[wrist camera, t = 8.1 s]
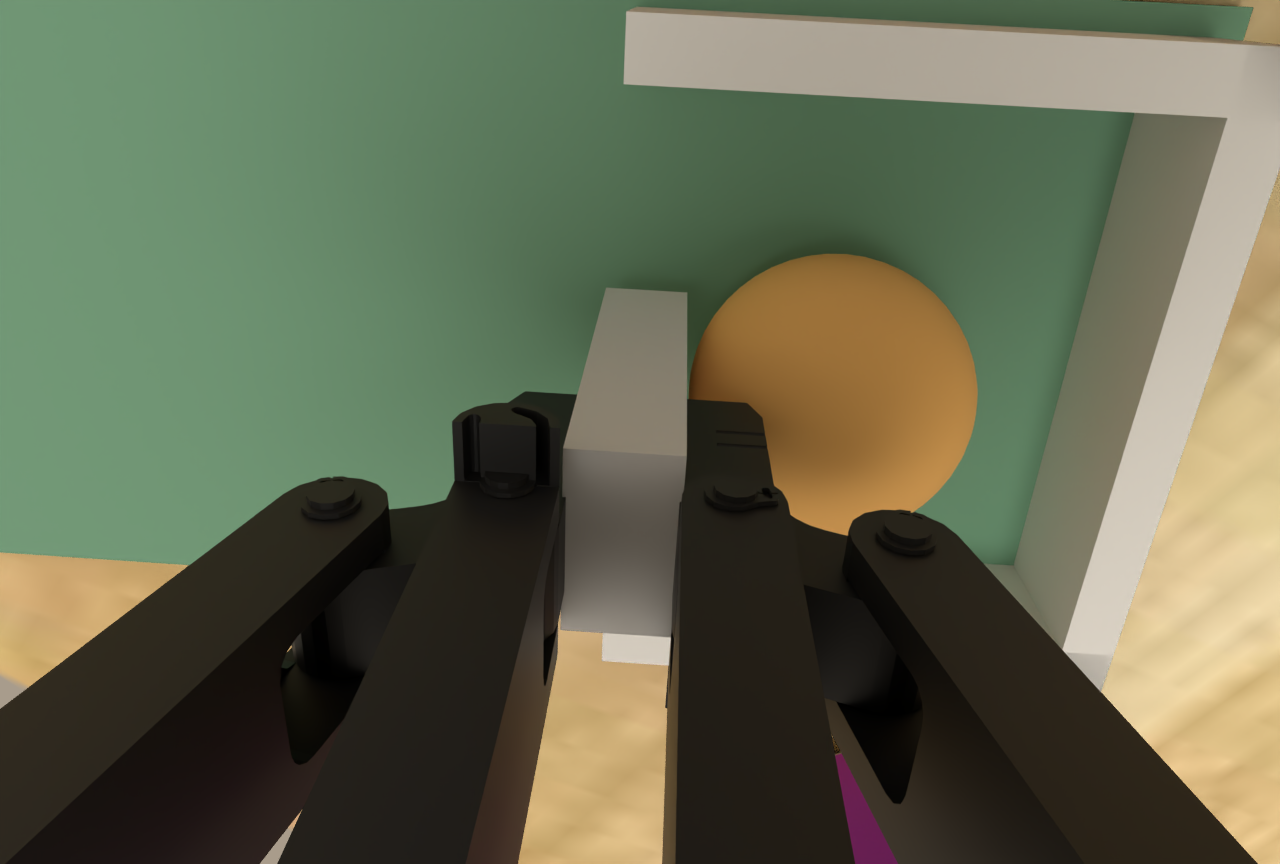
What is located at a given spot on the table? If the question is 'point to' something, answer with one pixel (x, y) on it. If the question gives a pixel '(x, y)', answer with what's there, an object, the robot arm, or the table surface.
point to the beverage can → (862, 821)
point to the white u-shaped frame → (1124, 267)
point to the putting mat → (471, 238)
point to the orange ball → (844, 383)
